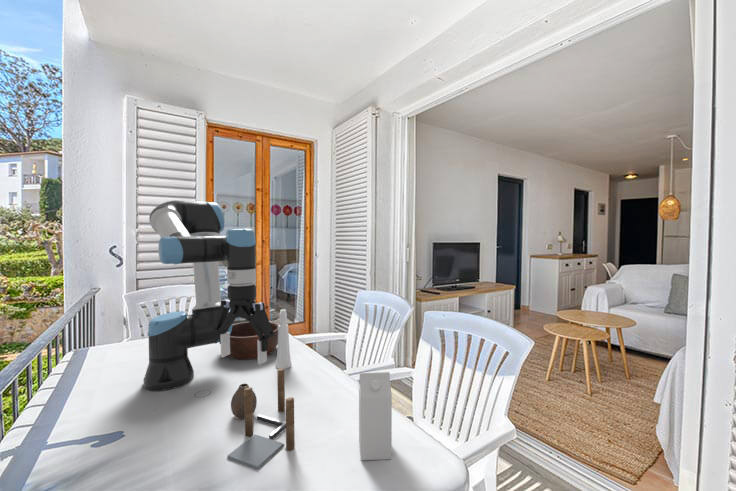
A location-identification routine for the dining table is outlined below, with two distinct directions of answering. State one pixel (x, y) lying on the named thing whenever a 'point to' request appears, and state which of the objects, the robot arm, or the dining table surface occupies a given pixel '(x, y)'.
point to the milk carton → (375, 416)
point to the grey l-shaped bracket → (274, 422)
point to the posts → (281, 407)
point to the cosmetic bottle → (283, 342)
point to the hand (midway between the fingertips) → (243, 359)
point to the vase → (241, 402)
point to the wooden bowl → (249, 341)
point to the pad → (255, 451)
